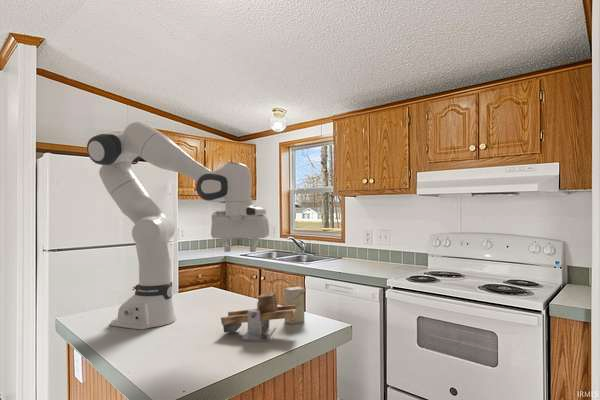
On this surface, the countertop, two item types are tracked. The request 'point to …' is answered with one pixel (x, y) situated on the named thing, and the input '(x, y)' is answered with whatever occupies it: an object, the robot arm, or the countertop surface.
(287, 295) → the skincare box
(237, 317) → the beam
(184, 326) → the countertop surface
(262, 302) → the block
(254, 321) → the pivot stand
